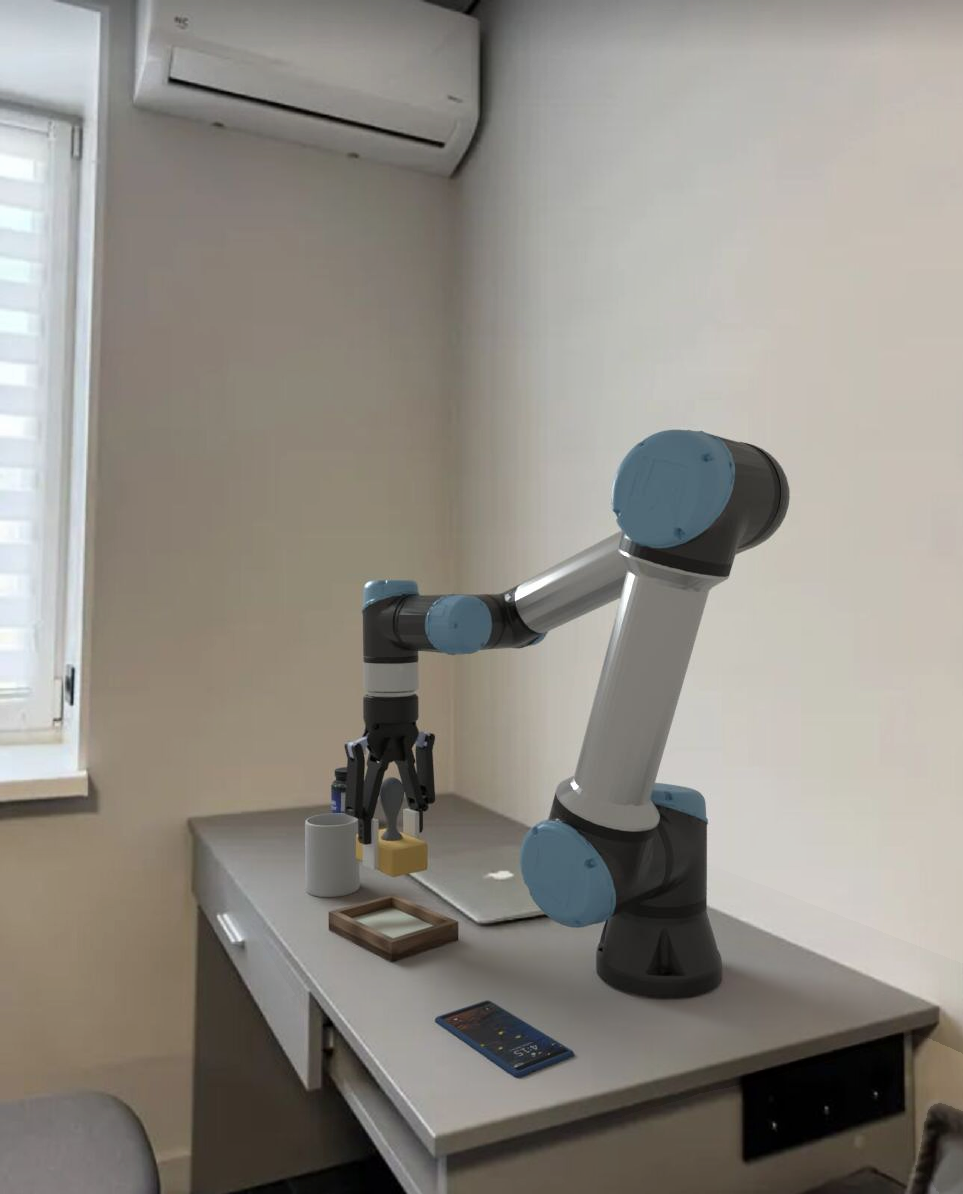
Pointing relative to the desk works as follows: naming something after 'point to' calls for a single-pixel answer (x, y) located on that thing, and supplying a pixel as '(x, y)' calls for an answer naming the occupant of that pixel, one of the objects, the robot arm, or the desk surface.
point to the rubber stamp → (396, 837)
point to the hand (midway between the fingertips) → (391, 861)
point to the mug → (331, 855)
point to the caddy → (393, 927)
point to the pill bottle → (339, 791)
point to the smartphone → (504, 1038)
